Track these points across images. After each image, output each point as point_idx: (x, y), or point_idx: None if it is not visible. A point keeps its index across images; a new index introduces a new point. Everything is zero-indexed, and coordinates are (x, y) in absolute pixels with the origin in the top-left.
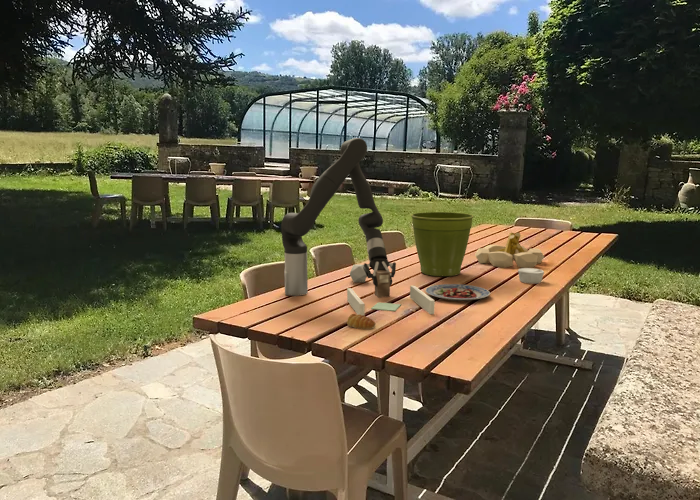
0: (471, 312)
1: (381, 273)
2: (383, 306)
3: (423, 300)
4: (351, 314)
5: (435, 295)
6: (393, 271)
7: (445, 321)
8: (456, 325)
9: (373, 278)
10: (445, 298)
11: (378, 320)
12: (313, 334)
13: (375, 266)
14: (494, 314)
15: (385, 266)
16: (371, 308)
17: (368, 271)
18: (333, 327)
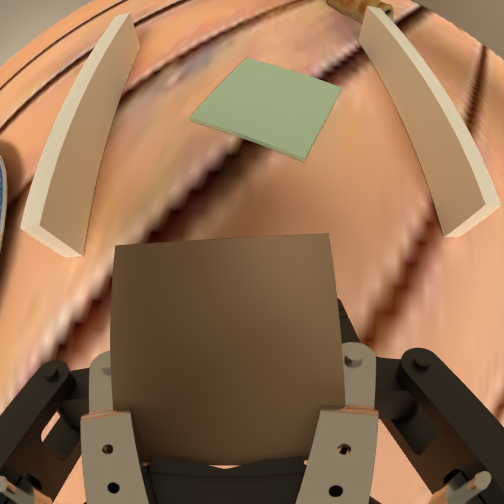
0: (34, 80)
1: (263, 242)
2: (285, 97)
3: (114, 61)
4: (388, 5)
5: (3, 188)
6: (43, 391)
7: (139, 19)
8: (134, 9)
9: (354, 334)
10: (1, 158)
11: (316, 22)
12: (435, 21)
13: (359, 488)
14: (12, 79)
15: (114, 496)
16: (340, 89)
17: (451, 388)
18: (415, 27)
